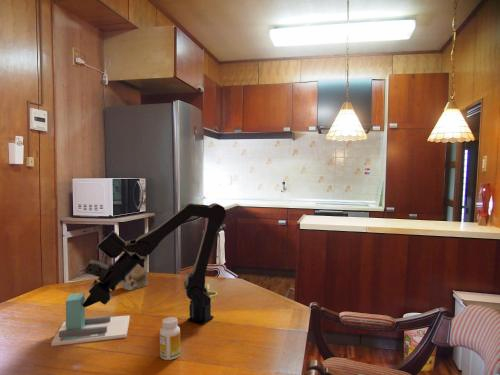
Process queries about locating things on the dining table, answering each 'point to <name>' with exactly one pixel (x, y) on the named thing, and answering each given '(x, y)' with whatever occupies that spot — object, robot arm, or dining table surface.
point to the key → (211, 291)
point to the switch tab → (75, 311)
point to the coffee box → (137, 276)
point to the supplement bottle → (169, 339)
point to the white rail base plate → (94, 330)
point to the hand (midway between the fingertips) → (83, 306)
